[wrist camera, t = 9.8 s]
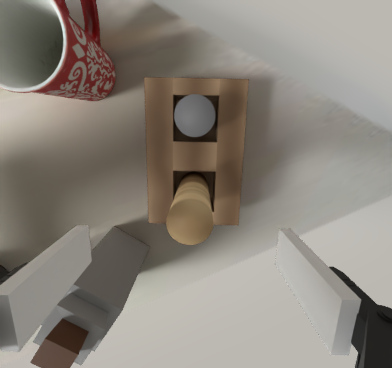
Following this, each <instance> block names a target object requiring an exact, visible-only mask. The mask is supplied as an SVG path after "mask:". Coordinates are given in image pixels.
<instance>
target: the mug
mask: <svg viewBox="0 0 392 368" xmlns="http://www.w3.org/2000/svg"><path fill="white" fill-rule="evenodd" d="M80 1H81V5H82V10H83V16H84V23H85V31H84V30H83V29H82V28H81V27H80V26H79V25H78V24H77V23H76V22H75V21H74V20H73V19H72V18H71V17H70V15H69V10H68V8H67V6H66V3H65V0H0V88H2V89H5V90H8V91H12V92H18V93H29V92H33V93H40V94H46V95H53V96H61V97H66V98H73V99H80V100H87V101H97V100H101V99H103V98H105V97H106V96H107V95H108V94H109V93H110V92H111V90H112V89H113V87H114V84H115V77H116V76H115V67H114V65H113V62H112V60H111V58H110V57H109V55H108V54H107V53H106V52H105V51H104V50H103V49H102V48H101V44H100V28H99V18H98V11H97V5H96V0H80Z"/></svg>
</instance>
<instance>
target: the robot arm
mask: <svg viewBox="0 0 392 368" xmlns="http://www.w3.org/2000/svg"><path fill="white" fill-rule="evenodd" d="M91 262H92V258H91V248H90V237H89V227H88V225H76V226H75V227H74V228H73V229H71V230H70V231H69V232H67V233H66V234H65V235H64V236H62V237H61V238H60V239H59V240H57V241H56V242H55V243H53V244H52V245H51V246H50V247H48V248H47V249H46V250H44V251H43V252H42V253H41V254H39V255H38V256H37V257H36V258H34V259H33V260H32V261H30V262H29V263H25V264H23V265H21V266H19V267H17V268H15V269H14V270H12V271H11V272H10V273H9V272H8V271H6V270H5V269H4V268H3V267H1V266H0V349H1V351H15V352H19V351H20V350H21V349H22V348H23V346H24V345H25V344H26V343H27V341H28V340H29V339H30V338H31V336H32V335H33V334H34V333H35V331H36V330H37V329H38V328H39V326H40V325H41V324H42V323H43V321H44V320H45V319H46V318H47V316H48V315H49V314H50V313H51V311H52V310H53V309H54V308H55V306H56V305H57V304H58V303H59V301H60V300H61V299H62V298H63V296H64V295H65V294H66V293H67V291H68V290H69V289H70V288H71V286H72V285H73V284H74V283H75V282H76V280H77V279H78V278H79V277H80V275H81V274H82V273H83V272H84V270H85V269H86V268H87V267H88V265H89V264H90V263H91ZM275 265H276V266H277V268H278V270H279V271H280V273H281V274H282V276H283V278H284V279H285V281H286V283H287V284H288V286H289V287H290V289H291V291H292V292H293V294H294V296H295V297H296V299H297V300H298V302H299V304H300V305H301V307H302V309H303V310H304V312H305V313H306V315H307V317H308V318H309V320H310V322H311V323H312V325H313V326H314V328H315V330H316V331H317V333H318V335H319V336H320V338H321V340H322V341H323V343H324V345H325V346H326V348H327V349H328V351H329V353H330V354H331V355H349V352H350V347H351V343H352V345H353V346H354V347H355V348H356V350H357V351H358V356H357V361H356V365H355V368H392V309H391V308H388V307H385V306H382V305H377V304H376V303H375V302H374V301H373V300H372V299H371V298H370V297H369V296H368V295H367V294H366V293H364V292H363V291H362V290H361V289H360V288H359V287H358V286H356V284H355V283H354V282H353V281H351V280H350V279H349V277H347V276H346V275H345V274H344V273H343V272H341V271H340V270H338V269H336V268H334V267H328V266H327V265H326V264H325V263H324V262H323V261H322V260H321V259H320V258H319V257H318V256H317V255H316V254H315V253H314V252H313V251H312V250H311V249H310V248H309V247H308V246H307V245H306V244H305V243H304V242H303V241H302V240H301V239H300V238H299V237H298V236H297V235H296V234H295V233H294V232H293V231H292V230H291V229H279V235H278V243H277V252H276V261H275Z"/></svg>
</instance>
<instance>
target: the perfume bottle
mask: <svg viewBox="0 0 392 368" xmlns="http://www.w3.org/2000/svg"><path fill="white" fill-rule="evenodd" d="M148 249H149V246H148V245H146V244H144V243H143V242H141V241H139V240H137V239H136V238H134V237H132V236H130V235H129V234H127V233H125V232H124V231H122V230H120V229H118V228H117V227H115V226H114V227H113V228H112V229H111V230H110V231H109V233H108V234H107V235H106V236H105V237H104V238H103V239H102V240H101V241H100V243H99V244H98V245H97V246H96V247H95V248H94V249H93V250H92V251H91V258H92V262H91V263H90V264H89V265H88V267H87V268H86V269H85V270H84V272H83V273H82V274H81V275H80V277H79V278H78V279H77V280H76V282H75V283H74V284H73V285H72V286H71V288H70V289H69V290H68V291H67V293H66V294H65V295H64V296H63V298H62V299H61V300H60V301H59V303H58V304H57V305H56V306H55V308H54V309H53V310H52V311H51V313H50V314H49V315H48V316H47V318H46V319H45V320H44V321H43V323H42V324H41V325H42V327H41V329H40V331H39V333H38V334H37V336H36V338H35V339H34V341H33V342H34V343H36V344H38V345H40V347H39V349H38V351H37V352H36V354H35V356H34V357H33V359H32V361H31V363H32V364H34V365H36V366H39V367H41V368H70V367H71V365H72V364H73V362H75V363H77V364H79V365H82V364H83V362H84V361H85V359H86V358H87V356H88V354H89V353H90V352H91V350H92V351H95V350H96V348H97V347H98V345H99V344H100V342H101V341H102V339H103V338H104V336H105V335H106V334H107V332H108V331H109V329H110V328H111V326H112V325H113V323H114V322H115V320H116V319H117V317H118V316H119V314H120V313H121V311H122V310H123V308H124V305H125V303H126V301H127V298H128V296H129V294H130V291H131V289H132V287H133V284H134V282H135V280H136V277H137V275H138V273H139V270H140V268H141V266H142V263H143V261H144V259H145V256H146V254H147V252H148Z"/></svg>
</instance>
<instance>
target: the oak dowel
mask: <svg viewBox="0 0 392 368" xmlns="http://www.w3.org/2000/svg"><path fill="white" fill-rule="evenodd" d="M166 226H167V230H168V232H169V234H170V235H171V237H172V238H173V239H175V240H176V241H177V242H179V243H182V244H185V245H195V244H199V243H201V242H203V241H204V240H206V239H207V238H208V237H209V235H210V234H211V232H212V229H213V215H212V209H211V202H210V196H209V189H208V183H207V179H206V177H205V176H204V175H203V174H201V173H200V172H196V171H192V172H188V173H187V174H185V175H184V176H183V177H182V179H181V182H180V184H179V187H178V190H177V192H176V195H175V197H174V200H173V203H172V205H171V208H170V210H169V213H168V216H167V219H166Z"/></svg>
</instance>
